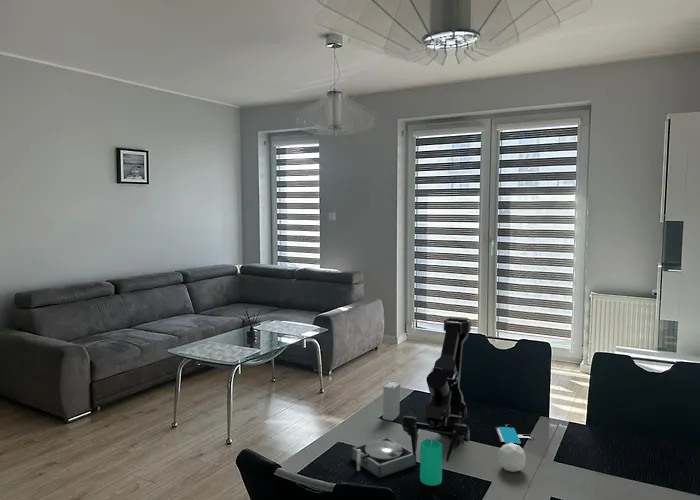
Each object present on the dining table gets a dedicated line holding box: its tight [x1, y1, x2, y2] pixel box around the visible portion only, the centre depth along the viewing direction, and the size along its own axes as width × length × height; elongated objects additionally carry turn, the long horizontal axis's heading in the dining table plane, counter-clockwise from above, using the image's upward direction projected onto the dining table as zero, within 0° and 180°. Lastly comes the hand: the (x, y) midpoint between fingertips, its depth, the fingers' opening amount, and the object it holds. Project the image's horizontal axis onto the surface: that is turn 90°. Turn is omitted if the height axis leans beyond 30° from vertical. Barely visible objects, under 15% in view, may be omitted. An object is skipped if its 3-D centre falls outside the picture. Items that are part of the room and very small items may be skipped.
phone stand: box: [495, 423, 531, 445], centre depth 177 cm, size 20×12×2 cm, turn 174°
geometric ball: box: [497, 443, 527, 473], centre depth 154 cm, size 8×8×8 cm
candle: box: [419, 437, 444, 486], centre depth 148 cm, size 6×6×12 cm
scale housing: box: [351, 436, 417, 479], centre depth 157 cm, size 16×14×6 cm
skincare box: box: [382, 381, 401, 422], centre depth 191 cm, size 6×4×12 cm
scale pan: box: [361, 440, 402, 461], centre depth 157 cm, size 14×11×1 cm
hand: (430, 458), depth 146 cm, fingers open, 9 cm apart
